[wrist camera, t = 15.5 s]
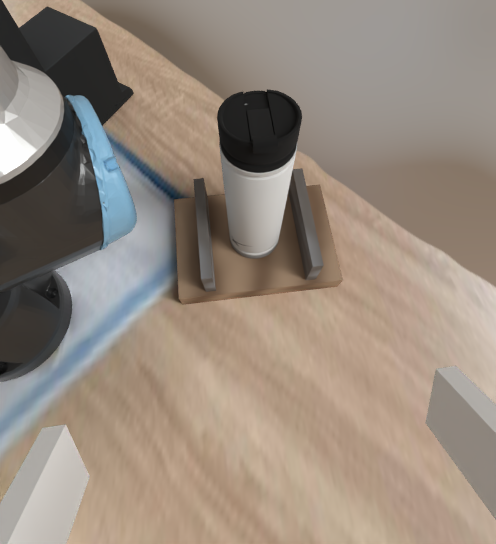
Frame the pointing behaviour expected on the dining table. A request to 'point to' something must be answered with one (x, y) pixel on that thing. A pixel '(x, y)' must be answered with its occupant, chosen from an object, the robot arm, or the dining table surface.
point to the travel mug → (257, 166)
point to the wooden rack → (246, 271)
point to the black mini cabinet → (65, 57)
